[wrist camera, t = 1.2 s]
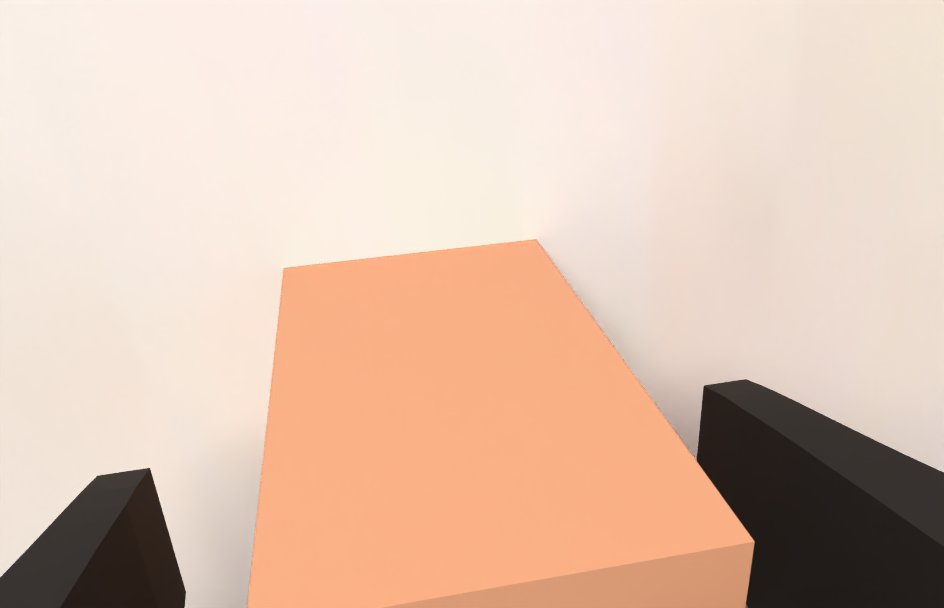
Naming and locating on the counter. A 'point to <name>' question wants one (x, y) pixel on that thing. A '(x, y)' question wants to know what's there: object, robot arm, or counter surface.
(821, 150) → the counter surface
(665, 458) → the wooden peg
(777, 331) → the counter surface
